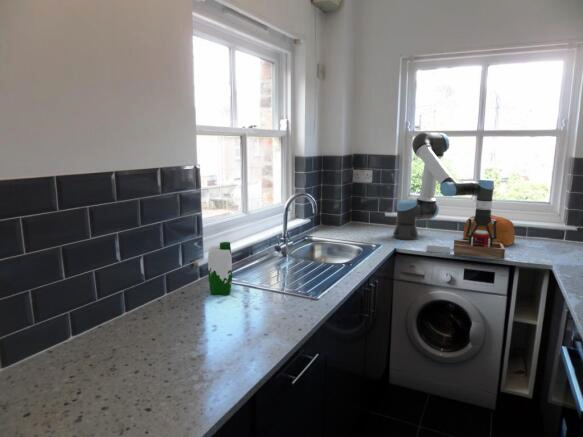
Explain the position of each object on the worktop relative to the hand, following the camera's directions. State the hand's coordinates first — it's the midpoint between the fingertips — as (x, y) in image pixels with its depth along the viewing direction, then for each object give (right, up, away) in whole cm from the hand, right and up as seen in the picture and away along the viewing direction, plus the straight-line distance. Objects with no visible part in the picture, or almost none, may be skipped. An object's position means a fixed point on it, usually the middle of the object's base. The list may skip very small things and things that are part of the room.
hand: (479, 250), depth 221 cm
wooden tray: (-1, -2, 0) cm, 2 cm away
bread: (+18, +3, +29) cm, 34 cm away
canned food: (0, -1, 0) cm, 1 cm away
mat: (-20, 0, +7) cm, 21 cm away
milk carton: (-129, -12, -59) cm, 142 cm away
